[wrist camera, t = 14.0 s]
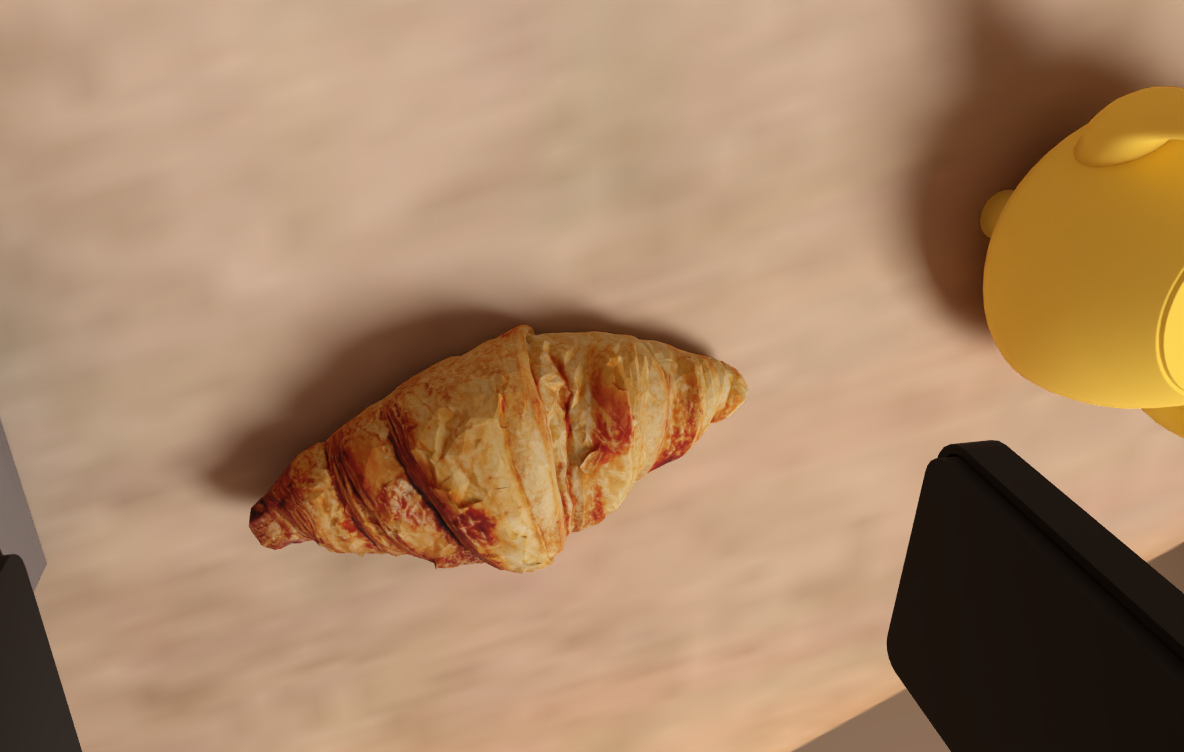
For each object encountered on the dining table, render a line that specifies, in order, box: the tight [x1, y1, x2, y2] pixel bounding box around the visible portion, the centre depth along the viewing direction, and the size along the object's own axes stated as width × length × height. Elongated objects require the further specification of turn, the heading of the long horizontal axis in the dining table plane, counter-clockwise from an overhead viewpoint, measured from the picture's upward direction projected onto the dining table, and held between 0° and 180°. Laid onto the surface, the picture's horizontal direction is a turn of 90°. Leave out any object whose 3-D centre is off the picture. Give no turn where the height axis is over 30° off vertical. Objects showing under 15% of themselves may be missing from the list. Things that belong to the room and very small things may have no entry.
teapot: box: [980, 86, 1184, 438], centre depth 38 cm, size 20×15×12 cm
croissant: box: [249, 325, 748, 573], centre depth 38 cm, size 21×10×8 cm, turn 101°
